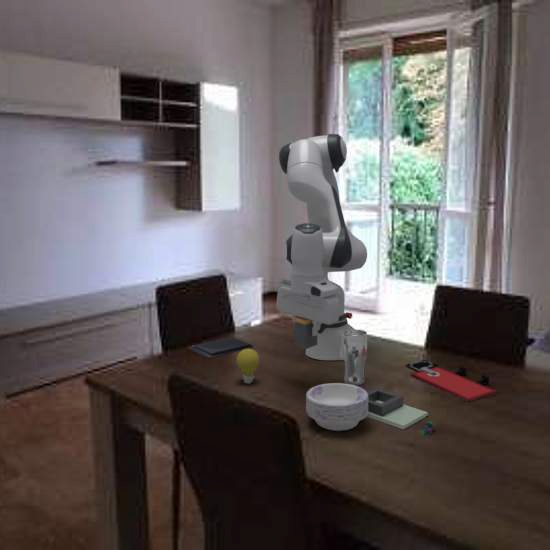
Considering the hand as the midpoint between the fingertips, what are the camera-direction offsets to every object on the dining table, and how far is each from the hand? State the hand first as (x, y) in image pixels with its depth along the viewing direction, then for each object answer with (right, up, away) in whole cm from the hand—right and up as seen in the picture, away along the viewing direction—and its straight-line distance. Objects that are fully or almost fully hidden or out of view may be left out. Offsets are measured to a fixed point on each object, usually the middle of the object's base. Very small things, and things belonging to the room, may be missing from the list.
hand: (306, 333), depth 165 cm
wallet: (-27, -10, +43) cm, 52 cm away
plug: (0, -4, +1) cm, 4 cm away
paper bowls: (+7, -21, -17) cm, 28 cm away
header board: (+18, -19, -10) cm, 28 cm away
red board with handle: (+42, -16, +12) cm, 47 cm away
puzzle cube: (+28, -22, -22) cm, 42 cm away
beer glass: (+15, -15, +11) cm, 24 cm away
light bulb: (-16, -16, +10) cm, 25 cm away
